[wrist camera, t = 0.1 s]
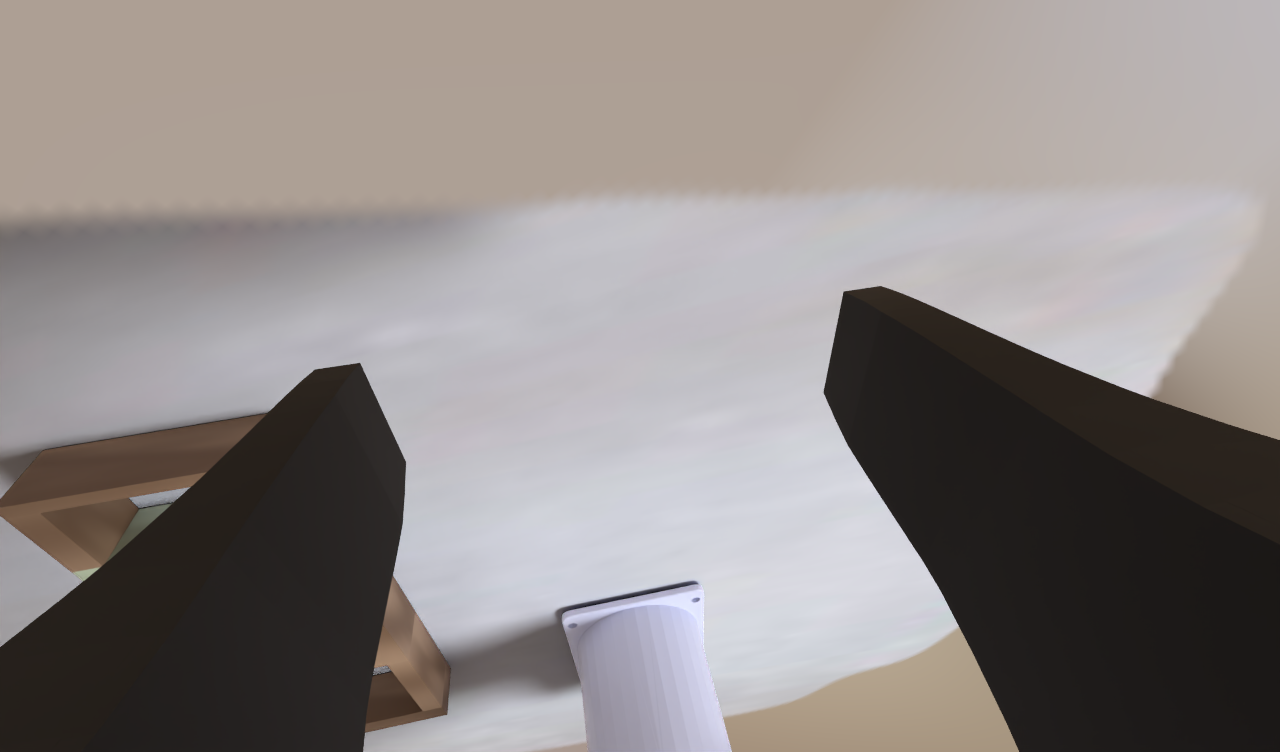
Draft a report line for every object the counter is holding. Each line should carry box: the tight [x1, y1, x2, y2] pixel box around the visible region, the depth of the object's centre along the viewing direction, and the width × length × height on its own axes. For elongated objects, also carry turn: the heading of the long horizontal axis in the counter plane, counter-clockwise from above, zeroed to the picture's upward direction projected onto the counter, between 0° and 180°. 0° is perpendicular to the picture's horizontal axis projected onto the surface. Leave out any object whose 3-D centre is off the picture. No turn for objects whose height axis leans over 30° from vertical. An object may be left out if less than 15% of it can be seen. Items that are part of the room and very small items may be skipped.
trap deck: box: [0, 414, 451, 733], centre depth 25 cm, size 20×8×2 cm, turn 4°
